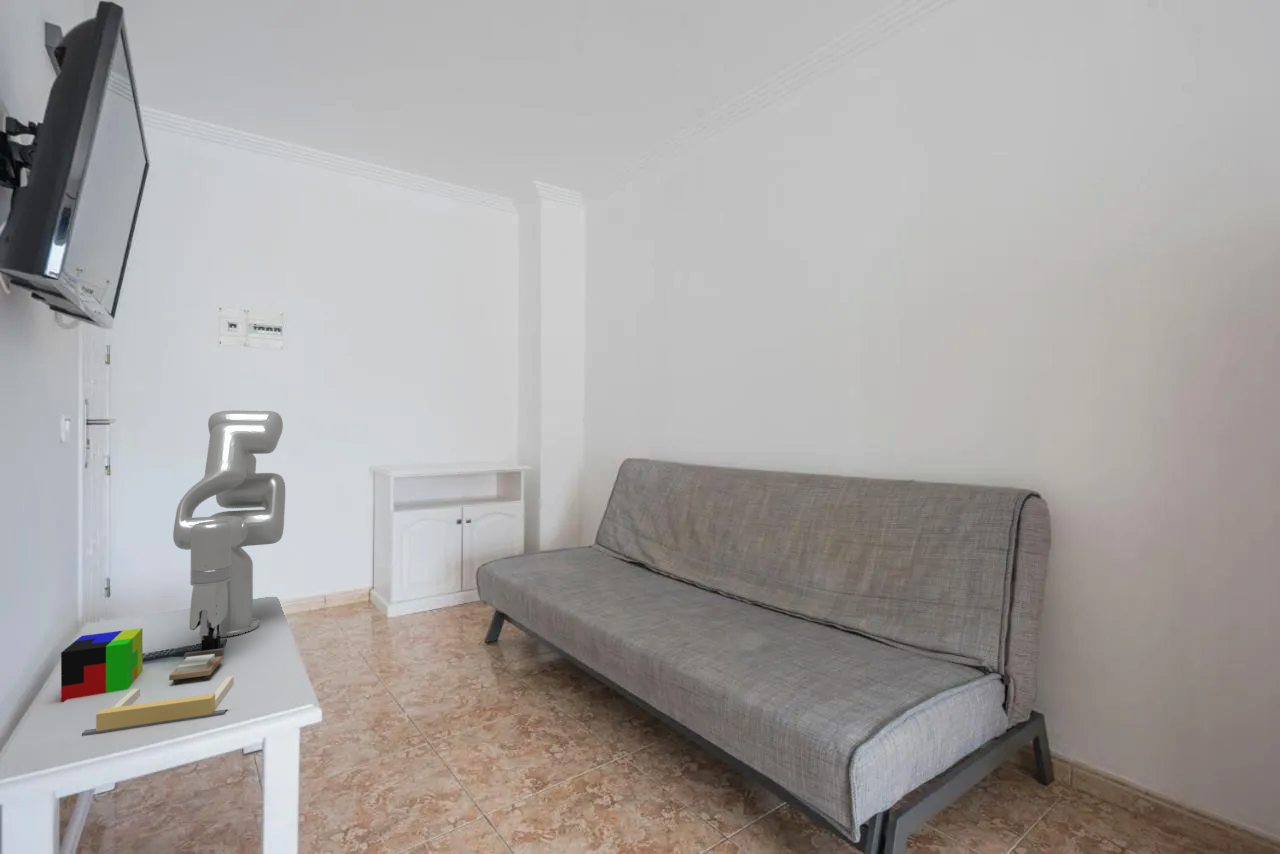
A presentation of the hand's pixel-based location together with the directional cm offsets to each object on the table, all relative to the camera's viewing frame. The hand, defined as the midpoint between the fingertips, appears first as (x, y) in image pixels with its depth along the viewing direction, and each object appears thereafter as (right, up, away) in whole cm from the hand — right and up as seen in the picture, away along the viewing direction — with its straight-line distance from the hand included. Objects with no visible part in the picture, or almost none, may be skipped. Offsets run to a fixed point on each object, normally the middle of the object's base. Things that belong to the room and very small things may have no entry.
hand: (211, 654), depth 131 cm
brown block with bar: (+3, -1, -8) cm, 8 cm away
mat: (+6, -2, -15) cm, 16 cm away
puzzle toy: (-13, -2, -13) cm, 18 cm away
